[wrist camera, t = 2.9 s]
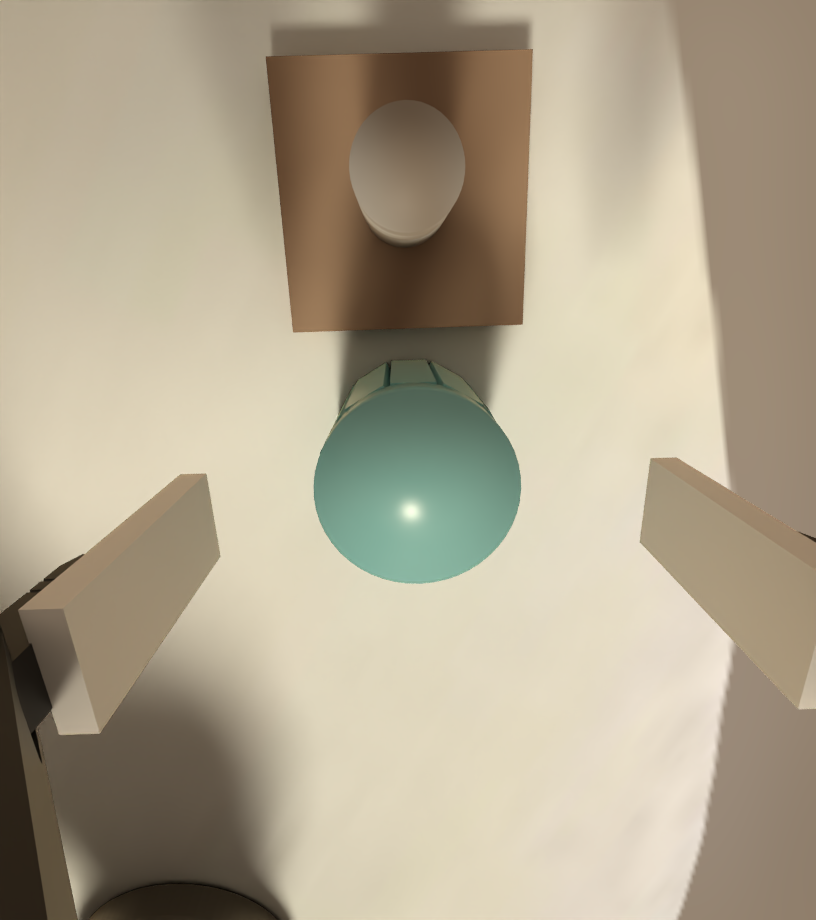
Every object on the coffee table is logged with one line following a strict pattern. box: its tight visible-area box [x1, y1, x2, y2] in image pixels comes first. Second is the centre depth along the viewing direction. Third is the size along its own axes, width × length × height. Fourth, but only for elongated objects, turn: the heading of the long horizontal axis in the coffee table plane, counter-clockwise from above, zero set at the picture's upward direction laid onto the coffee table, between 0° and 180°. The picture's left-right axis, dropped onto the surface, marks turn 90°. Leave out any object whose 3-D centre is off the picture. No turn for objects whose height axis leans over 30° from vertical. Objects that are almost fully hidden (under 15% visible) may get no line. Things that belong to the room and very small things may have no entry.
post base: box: [266, 49, 533, 332], centre depth 18 cm, size 10×10×7 cm
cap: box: [314, 359, 521, 584], centre depth 21 cm, size 7×7×8 cm
